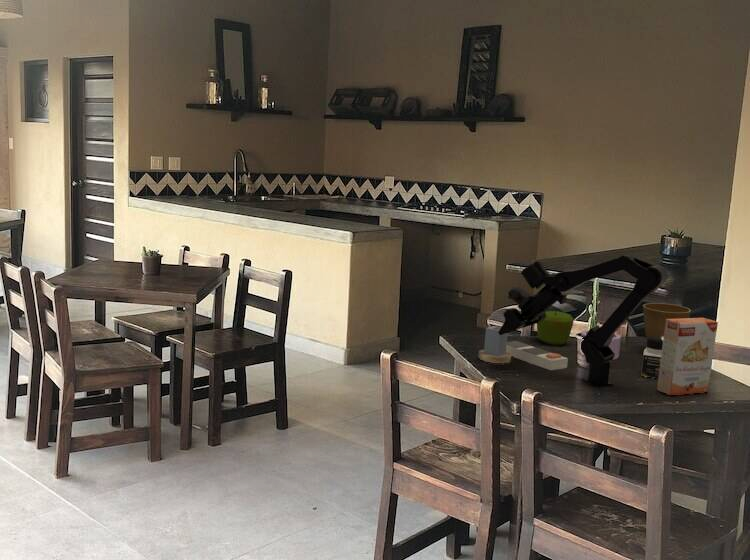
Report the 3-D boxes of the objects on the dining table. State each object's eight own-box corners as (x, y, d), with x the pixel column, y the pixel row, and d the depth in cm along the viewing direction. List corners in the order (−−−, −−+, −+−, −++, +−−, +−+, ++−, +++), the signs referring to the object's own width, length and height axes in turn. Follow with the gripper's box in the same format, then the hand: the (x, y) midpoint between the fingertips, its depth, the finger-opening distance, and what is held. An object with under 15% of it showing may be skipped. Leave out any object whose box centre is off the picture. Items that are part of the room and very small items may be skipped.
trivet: (515, 364, 245) (516, 357, 245) (485, 364, 243) (485, 358, 242) (503, 355, 255) (503, 349, 254) (473, 355, 252) (474, 349, 252)
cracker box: (671, 397, 220) (680, 323, 216) (655, 390, 225) (664, 318, 222) (709, 393, 225) (719, 321, 222) (693, 387, 231) (702, 316, 227)
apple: (538, 336, 284) (541, 305, 282) (573, 341, 279) (576, 309, 277) (531, 343, 272) (534, 311, 270) (567, 349, 268) (570, 316, 266)
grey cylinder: (505, 353, 249) (508, 328, 248) (498, 356, 245) (500, 330, 244) (491, 350, 252) (493, 325, 250) (483, 353, 248) (485, 328, 246)
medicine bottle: (640, 376, 239) (645, 337, 237) (641, 371, 245) (646, 332, 243) (666, 380, 236) (670, 340, 234) (666, 374, 243) (671, 336, 241)
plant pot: (640, 346, 278) (645, 301, 275) (686, 353, 272) (692, 306, 269) (635, 355, 264) (640, 307, 262) (683, 362, 258) (689, 314, 256)
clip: (581, 344, 277) (583, 324, 275) (618, 348, 273) (621, 329, 272) (578, 357, 258) (580, 336, 257) (618, 362, 254) (620, 341, 253)
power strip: (566, 367, 244) (568, 355, 243) (550, 370, 240) (551, 358, 240) (516, 350, 262) (517, 338, 262) (500, 352, 258) (501, 340, 258)
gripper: (539, 276, 247) (505, 306, 255) (511, 282, 232) (475, 314, 240) (561, 305, 244) (525, 334, 252) (534, 313, 229) (497, 344, 237)
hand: (506, 331), depth 245 cm, fingers open, 9 cm apart
